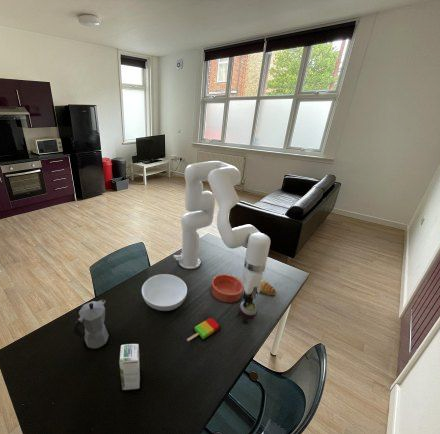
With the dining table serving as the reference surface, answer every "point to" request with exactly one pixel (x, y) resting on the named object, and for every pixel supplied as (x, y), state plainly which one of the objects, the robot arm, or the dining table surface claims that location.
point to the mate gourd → (247, 310)
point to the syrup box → (130, 366)
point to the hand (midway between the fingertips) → (247, 300)
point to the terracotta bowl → (227, 288)
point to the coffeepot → (92, 324)
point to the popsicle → (205, 329)
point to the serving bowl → (164, 292)
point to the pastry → (267, 288)
